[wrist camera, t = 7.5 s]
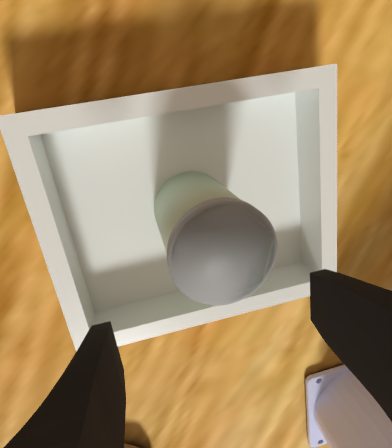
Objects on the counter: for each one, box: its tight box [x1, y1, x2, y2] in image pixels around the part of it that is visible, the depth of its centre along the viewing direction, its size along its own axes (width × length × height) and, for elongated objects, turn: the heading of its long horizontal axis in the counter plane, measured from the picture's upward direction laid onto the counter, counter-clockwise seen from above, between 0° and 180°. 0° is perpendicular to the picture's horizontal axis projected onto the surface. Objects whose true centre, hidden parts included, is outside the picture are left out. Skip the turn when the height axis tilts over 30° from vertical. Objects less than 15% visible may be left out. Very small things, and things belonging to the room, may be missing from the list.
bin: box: [0, 64, 337, 352], centre depth 19 cm, size 16×13×3 cm
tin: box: [154, 171, 278, 306], centre depth 17 cm, size 5×5×7 cm
